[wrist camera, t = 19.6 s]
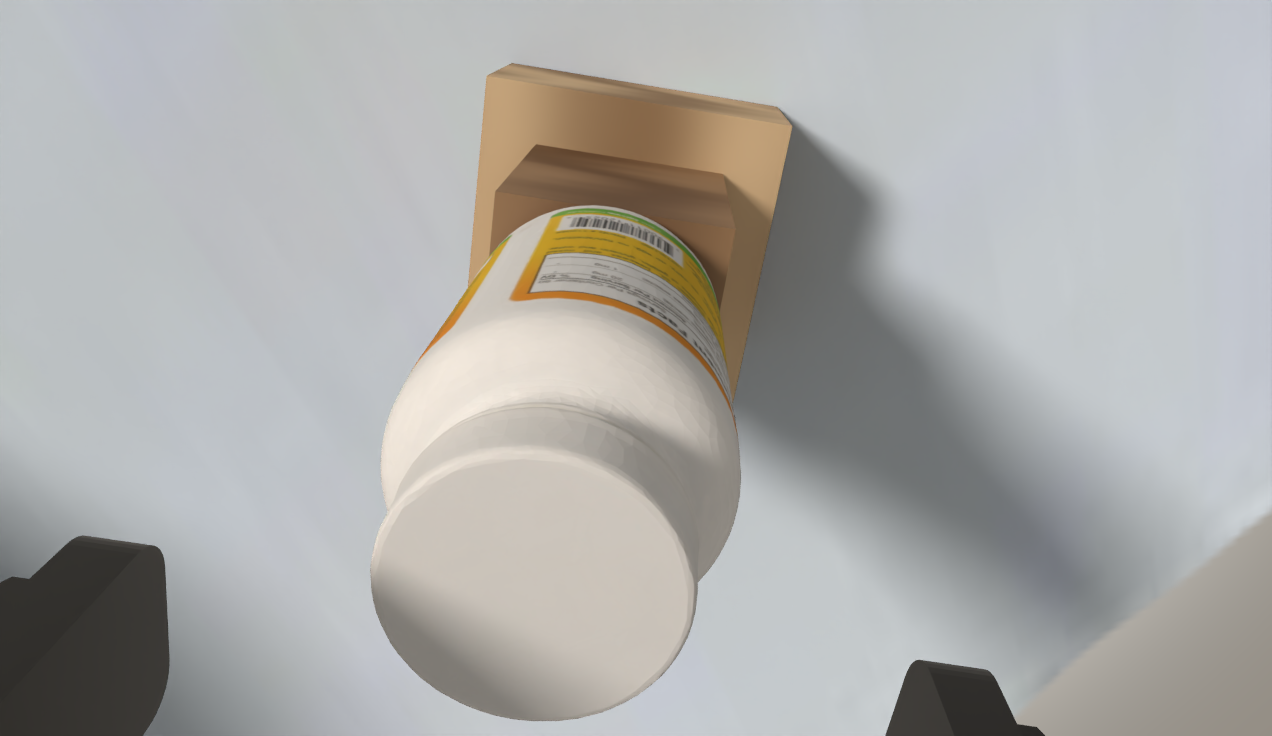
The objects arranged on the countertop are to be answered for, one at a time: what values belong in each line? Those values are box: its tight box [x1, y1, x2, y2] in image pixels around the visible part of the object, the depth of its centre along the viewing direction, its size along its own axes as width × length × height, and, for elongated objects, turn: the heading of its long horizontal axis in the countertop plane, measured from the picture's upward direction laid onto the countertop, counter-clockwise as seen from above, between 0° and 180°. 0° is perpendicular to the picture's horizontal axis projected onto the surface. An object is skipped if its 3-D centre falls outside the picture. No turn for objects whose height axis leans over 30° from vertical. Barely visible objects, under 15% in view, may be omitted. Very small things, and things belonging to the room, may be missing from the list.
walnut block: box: [489, 144, 736, 312], centre depth 23 cm, size 5×5×6 cm
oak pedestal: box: [468, 63, 792, 403], centre depth 28 cm, size 8×8×4 cm
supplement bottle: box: [370, 205, 741, 721], centre depth 16 cm, size 5×5×10 cm
